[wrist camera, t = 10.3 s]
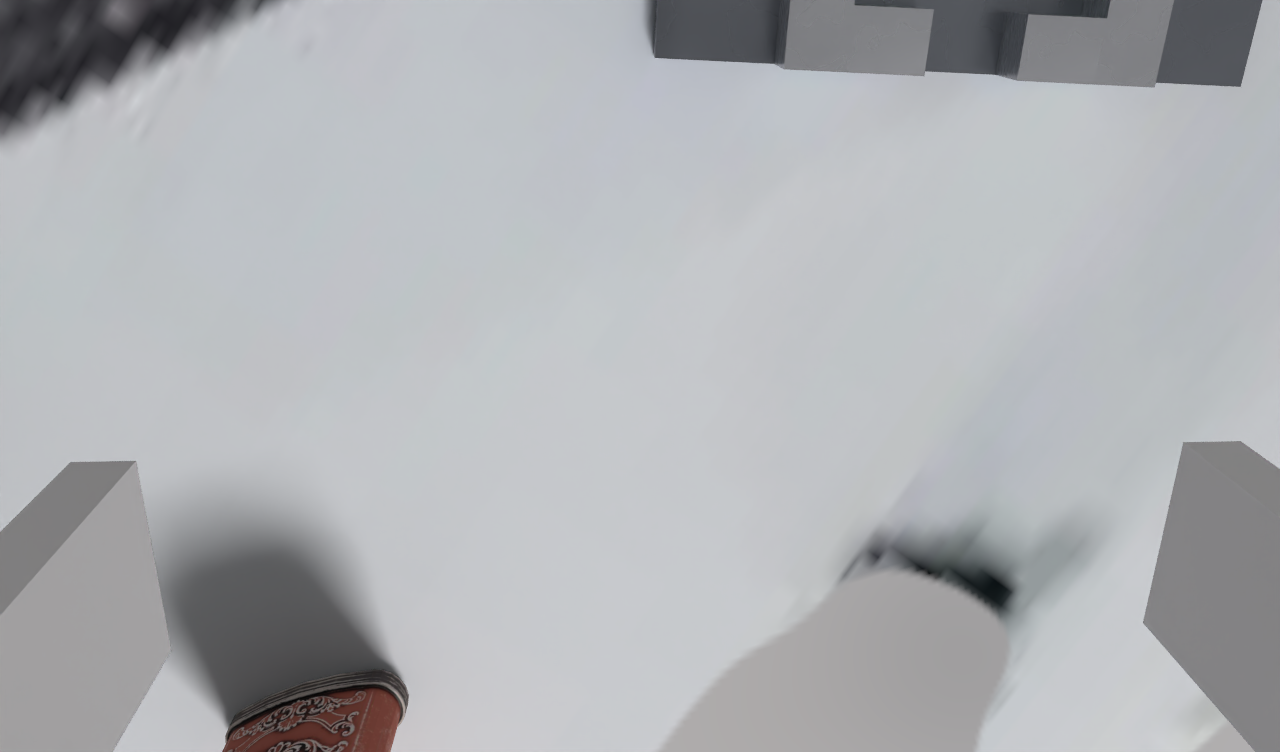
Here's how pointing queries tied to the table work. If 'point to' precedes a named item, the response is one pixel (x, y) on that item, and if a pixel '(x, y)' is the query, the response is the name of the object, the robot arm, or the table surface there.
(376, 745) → the lighter
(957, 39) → the chassis plate
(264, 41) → the table surface
